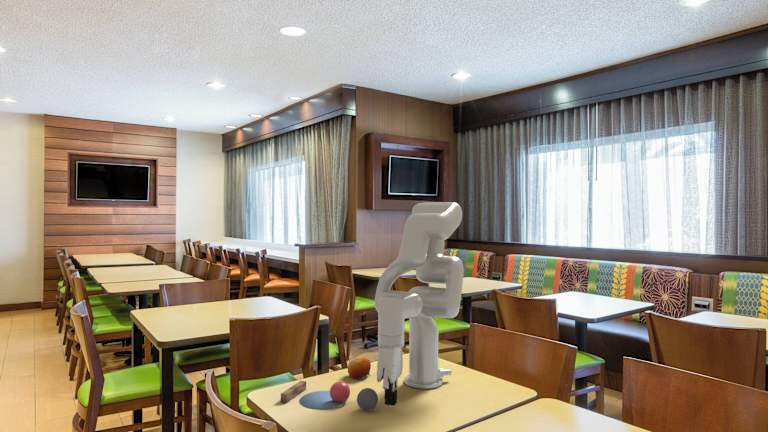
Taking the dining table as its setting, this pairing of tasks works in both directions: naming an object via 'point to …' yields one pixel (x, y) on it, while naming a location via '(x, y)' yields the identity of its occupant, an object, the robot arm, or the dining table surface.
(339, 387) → the object ball
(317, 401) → the blue flat disc
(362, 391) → the grey ball
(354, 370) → the fruit
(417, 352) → the robot arm
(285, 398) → the wall
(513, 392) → the dining table surface
